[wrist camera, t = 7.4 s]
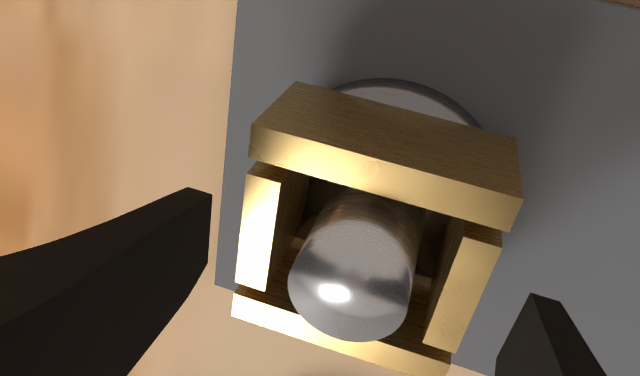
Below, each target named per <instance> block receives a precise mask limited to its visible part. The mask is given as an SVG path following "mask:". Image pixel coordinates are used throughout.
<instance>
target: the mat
mask: <svg viewBox="0 0 640 376" xmlns="http://www.w3.org/2000/svg"><path fill="white" fill-rule="evenodd" d="M370 78H394V79H402V80H407V81H412V82H416V83H419V84H422V85H425V86H428V87H430V88H432V89H434V90H437V91H439V92H441V93H443V94H445V95H446V96H448V97H449V98H451V99H452V100H454V101H455V102H457V103H458V104H459V105H461V106H462V107H463V108H464V109H465V110H466V111H468V112H469V113H470V114H471V115H472V117H473V118H474V119H475V120H476V121H477V122H478V123H479V124H480V126H481V127H482V129H484V130H488V131H492V132H495V133H499V134H503V135H507V136H511V137H515V138H516V140H517V147H518V155H519V163H520V171H521V179H522V186H523V194H524V201H523V203H522V205H521V208H520V210H519V212H518V214H517V217H516V219H515V221H514V223H513V226H512V228H511V230H510V232H506V231H502V250H501V253H500V255H499V257H498V259H497V262H496V264H495V266H494V268H493V271H492V273H491V275H490V277H489V280H488V282H487V284H486V286H485V289H484V291H483V293H482V295H481V298H480V300H479V302H478V304H477V307H476V309H475V311H474V313H473V316H472V318H471V320H470V322H469V325H468V327H467V329H466V331H465V334H464V336H463V338H462V340H461V343H460V345H459V347H458V349H457V352H456V354H454V353H451V363H452V364H455V365H458V366H461V367H464V368H467V369H470V370H473V371H476V372H479V373H482V374H485V375H488V376H495V366H496V358H497V356H498V354H499V352H500V350H501V348H502V346H503V344H504V342H505V340H506V338H507V336H508V334H509V333H510V331H511V329H512V327H513V325H514V323H515V321H516V319H517V317H518V315H519V313H520V311H521V309H522V307H523V306H524V304H525V302H526V300H527V298H528V296H529V294H530V292H531V293H534V294H537V295H541V296H544V297H547V298H550V299H554V300H557V301H560V302H561V304H562V305H563V307H564V308H565V310H566V311H567V313H568V314H569V316H570V318H571V319H572V321H573V322H574V324H575V326H576V327H577V329H578V331H579V332H580V334H581V335H582V337H583V339H584V340H585V342H586V343H587V345H588V347H589V348H590V350H591V351H592V353H593V355H594V356H595V358H596V359H597V361H598V363H599V364H600V366H601V367H602V369H603V370H604V372H605V373H606V375H607V376H640V8H638V7H633V6H629V5H624V4H620V3H615V2H610V1H606V0H238V3H237V15H236V28H235V40H234V52H233V64H232V76H231V89H230V101H229V113H228V125H227V138H226V150H225V162H224V174H223V187H222V199H221V211H220V223H219V235H218V248H217V260H216V272H215V285H218V286H221V287H224V288H227V289H230V290H233V291H236V290H237V288H238V286H239V285H240V283H237V282H235V278H236V268H237V259H238V249H239V239H240V229H241V220H242V210H243V200H244V191H245V181H246V173H247V172H248V171H249V170H250V169H251V167H252V166H253V165H254V164H255V163H256V162H257V160H255V159H251V158H248V152H249V142H250V132H251V124H252V123H253V122H254V121H255V120H256V119H257V118H258V117H259V116H260V115H261V114H262V113H263V112H264V111H265V110H266V109H267V108H268V107H269V106H270V105H271V104H272V103H273V102H274V101H275V100H276V99H277V98H278V97H280V96H281V95H282V94H283V93H284V92H285V91H286V90H287V89H288V88H289V87H290V86H291V85H292V84H293V83H294V82H295V81H299V82H303V83H307V84H311V85H314V86H318V87H322V88H326V89H330V90H331V89H333V88H335V87H337V86H340V85H343V84H346V83H349V82H352V81H357V80H362V79H370Z"/></svg>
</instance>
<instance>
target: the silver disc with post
mask: <svg viewBox="0 0 640 376" xmlns="http://www.w3.org/2000/svg"><path fill="white" fill-rule="evenodd" d="M331 90H334V91H338V92H341V93H345V94H349V95H353V96H357V97H361V98H364V99H368V100H372V101H376V102H380V103H384V104H388V105H391V106H395V107H399V108H403V109H407V110H411V111H415V112H418V113H422V114H426V115H430V116H434V117H438V118H441V119H445V120H449V121H453V122H457V123H461V124H465V125H468V126H472V127H476V128H480V129H482V127H481V126H480V124H479V123H478V122H477V121H476V120H475V119H474V118H473V117H472V115H471V114H470V113H469V112H468V111H466V110H465V109H464V108H463V107H462V106H461V105H459V104H458V103H457V102H455V101H454V100H452V99H451V98H449V97H448V96H446V95H445V94H443V93H441V92H439V91H437V90H434V89H432V88H430V87H428V86H425V85H422V84H419V83H416V82H412V81H407V80H402V79H394V78H370V79H362V80H357V81H352V82H349V83H346V84H343V85H340V86H337V87H335V88H333V89H331ZM450 219H451V216H450V215H446V214H443V213H439V212H436V211H432V210H429V209H425V208H422V207H418V206H415V205H411V204H408V203H404V202H401V201H397V200H394V199H391V198H387V197H384V196H380V195H377V194H373V193H370V192H366V191H363V190H359V189H356V188H352V187H349V186H345V185H342V184H338V183H335V182H331V181H328V180H324V179H321V178H317V177H314V176H310V178H309V184H308V190H307V195H306V201H305V206H304V212H303V218H302V223H301V228H300V229H299V231H298V233H297V235H296V237H298V238H302V239H305V242H304V244H303V246H302V248H301V250H300V252H299V254H298V256H297V258H296V260H295V262H294V264H293V265H292V267H291V270H290V272H289V276H288V292H289V296H290V299H291V302H292V303H293V305H294V307H295V309H296V310H297V312H298V313H299V314H300V315H301V317H302V318H303V319H304V320H305V321H306V322H307V323H309V324H310V325H311V326H312V327H314V328H315V329H317V330H318V331H320V332H322V333H324V334H326V335H328V336H330V337H333V338H336V339H339V340H343V341H348V342H371V341H375V340H379V339H382V338H385V337H386V336H388V335H390V334H392V333H393V332H394V331H396V330H397V329H398V328H399V327H400V325H401V324H402V322H403V321H404V319H405V317H406V314H407V310H408V305H409V299H410V294H411V289H412V283H413V278H414V273H416V274H419V275H422V276H426V277H429V278H431V277H432V270H433V266H434V263H435V260H436V257H437V254H438V252H439V249H440V246H441V243H442V241H443V238H444V235H445V232H446V230H447V227H448V224H449V221H450Z"/></svg>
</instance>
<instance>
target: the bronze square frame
mask: <svg viewBox="0 0 640 376" xmlns="http://www.w3.org/2000/svg"><path fill="white" fill-rule="evenodd" d="M248 158H251V159H255V160H257V162H256V163H255V164H254V165H253V166H252V167H251V169H250V170H249V171H248V172H247V173H246V181H245V191H244V200H243V210H242V220H241V229H240V239H239V249H238V259H237V268H236V278H235V282H237V283H240V285H239V286H238V288H237V290H236V291H235V293H234V298H233V307H232V316H234V317H237V318H240V319H242V320H245V321H248V322H251V323H254V324H257V325H260V326H263V327H266V328H269V329H272V330H275V331H278V332H281V333H284V334H287V335H290V336H293V337H296V338H299V339H302V340H305V341H308V342H311V343H314V344H317V345H320V346H323V347H326V348H329V349H332V350H335V351H337V352H340V353H343V354H346V355H349V356H352V357H355V358H358V359H361V360H364V361H367V362H370V363H373V364H376V365H379V366H382V367H385V368H388V369H391V370H394V371H397V372H400V373H403V374H406V375H409V376H446V374H447V372H448V370H449V367H450V365H451V353H454V354H456V352H457V349H458V347H459V345H460V343H461V340H462V338H463V336H464V334H465V331H466V329H467V327H468V325H469V322H470V320H471V318H472V316H473V313H474V311H475V309H476V307H477V304H478V302H479V300H480V298H481V295H482V293H483V291H484V289H485V286H486V284H487V282H488V280H489V277H490V275H491V273H492V271H493V268H494V266H495V264H496V262H497V259H498V257H499V255H500V253H501V250H502V231H506V232H510V230H511V228H512V226H513V223H514V221H515V219H516V217H517V214H518V212H519V210H520V208H521V205H522V203H523V201H524V194H523V186H522V179H521V171H520V163H519V155H518V147H517V140H516V138H515V137H511V136H507V135H503V134H499V133H495V132H492V131H488V130H484V129H480V128H476V127H472V126H468V125H465V124H461V123H457V122H453V121H449V120H445V119H441V118H438V117H434V116H430V115H426V114H422V113H418V112H415V111H411V110H407V109H403V108H399V107H395V106H391V105H388V104H384V103H380V102H376V101H372V100H368V99H364V98H361V97H357V96H353V95H349V94H345V93H341V92H338V91H334V90H330V89H326V88H322V87H318V86H314V85H311V84H307V83H303V82H299V81H295V82H294V83H293V84H292V85H291V86H290V87H289V88H288V89H287V90H286V91H285V92H284V93H283V94H282V95H281V96H280V97H278V98H277V99H276V100H275V101H274V102H273V103H272V104H271V105H270V106H269V107H268V108H267V109H266V110H265V111H264V112H263V113H262V114H261V115H260V116H259V117H258V118H257V119H256V120H255V121H254V122H253V123H252V124H251V132H250V142H249V152H248ZM310 176H314V177H317V178H321V179H324V180H328V181H331V182H335V183H338V184H342V185H345V186H349V187H352V188H356V189H359V190H363V191H366V192H370V193H373V194H377V195H380V196H384V197H387V198H391V199H394V200H397V201H401V202H404V203H408V204H411V205H415V206H418V207H422V208H425V209H429V210H432V211H436V212H439V213H443V214H446V215H450V216H451V219H450V221H449V224H448V227H447V230H446V232H445V235H444V238H443V241H442V243H441V246H440V249H439V252H438V254H437V257H436V260H435V263H434V266H433V270H432V277H431V278H429V277H426V276H422V275H419V274H416V273H414V278H413V283H412V289H411V294H410V299H409V305H408V310H407V314H406V317H405V319H404V321H403V322H402V324H401V325H400V327H399V328H398V329H397V330H396V331H394V332H393V333H392V334H390V335H388V336H386V337H385V338H382V339H379V340H375V341H371V342H348V341H343V340H339V339H336V338H333V337H330V336H328V335H326V334H324V333H322V332H320V331H318V330H317V329H315V328H314V327H312V326H311V325H310V324H309V323H307V322H306V321H305V320H304V319H303V318H302V317H301V315H300V314H299V313H298V312H297V310H296V309H295V307H294V305H293V303H292V302H291V299H290V296H289V292H288V276H289V272H290V270H291V267H292V265H293V264H294V262H295V260H296V258H297V256H298V254H299V252H300V250H301V248H302V246H303V244H304V242H305V239H302V238H298V237H296V235H297V233H298V231H299V229H300V228H301V223H302V218H303V212H304V206H305V201H306V195H307V190H308V184H309V178H310Z"/></svg>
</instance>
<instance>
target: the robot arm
mask: <svg viewBox="0 0 640 376" xmlns="http://www.w3.org/2000/svg"><path fill="white" fill-rule="evenodd" d="M211 207H212V194H209V193H206V192H202V191H199V190H196V189H193V188H189V187H187V188H184V189H182V190H179V191H177V192H174V193H172V194H170V195H167V196H165V197H163V198H161V199H158V200H156V201H154V202H151V203H149V204H147V205H145V206H142V207H140V208H138V209H135V210H133V211H131V212H128V213H126V214H124V215H121V216H119V217H117V218H114V219H112V220H109V221H107V222H104V223H102V224H99V225H96V226H94V227H91V228H88V229H86V230H83V231H80V232H78V233H75V234H72V235H70V236H67V237H64V238H61V239H58V240H55V241H52V242H49V243H46V244H43V245H40V246H36V247H33V248H29V249H26V250H23V251H19V252H16V253H12V254H8V255H4V256H0V376H127V375H128V374H129V372H130V371H131V370H132V368H133V367H134V366H135V365H136V363H137V362H138V361H139V360H140V358H141V357H142V356H143V354H144V353H145V352H146V351H147V349H148V348H149V347H150V346H151V344H152V343H153V342H154V340H155V339H156V338H157V337H158V335H159V334H160V333H161V331H162V330H163V329H164V328H165V326H166V325H167V324H168V323H169V321H170V320H171V319H172V317H173V316H174V315H175V313H176V312H177V311H178V310H179V308H180V307H181V306H182V304H183V303H184V302H185V300H186V299H187V298H188V296H189V294H190V293H191V291H192V289H193V288H194V286H195V284H196V283H197V281H198V279H199V277H200V276H201V274H202V272H203V270H204V268H205V267H206V265H207V263H208V250H209V235H210V221H211ZM495 376H607V375H606V373H605V372H604V370H603V369H602V367H601V366H600V364H599V363H598V361H597V359H596V358H595V356H594V355H593V353H592V351H591V350H590V348H589V347H588V345H587V343H586V342H585V340H584V339H583V337H582V335H581V334H580V332H579V331H578V329H577V327H576V326H575V324H574V322H573V321H572V319H571V318H570V316H569V314H568V313H567V311H566V310H565V308H564V307H563V305H562V304H561V302H560V301H557V300H554V299H550V298H547V297H544V296H541V295H537V294H534V293H531V292H530V294H529V296H528V298H527V300H526V302H525V304H524V306H523V307H522V309H521V311H520V313H519V315H518V317H517V319H516V321H515V323H514V325H513V327H512V329H511V331H510V333H509V334H508V336H507V338H506V340H505V342H504V344H503V346H502V348H501V350H500V352H499V354H498V356H497V358H496V366H495Z"/></svg>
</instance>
